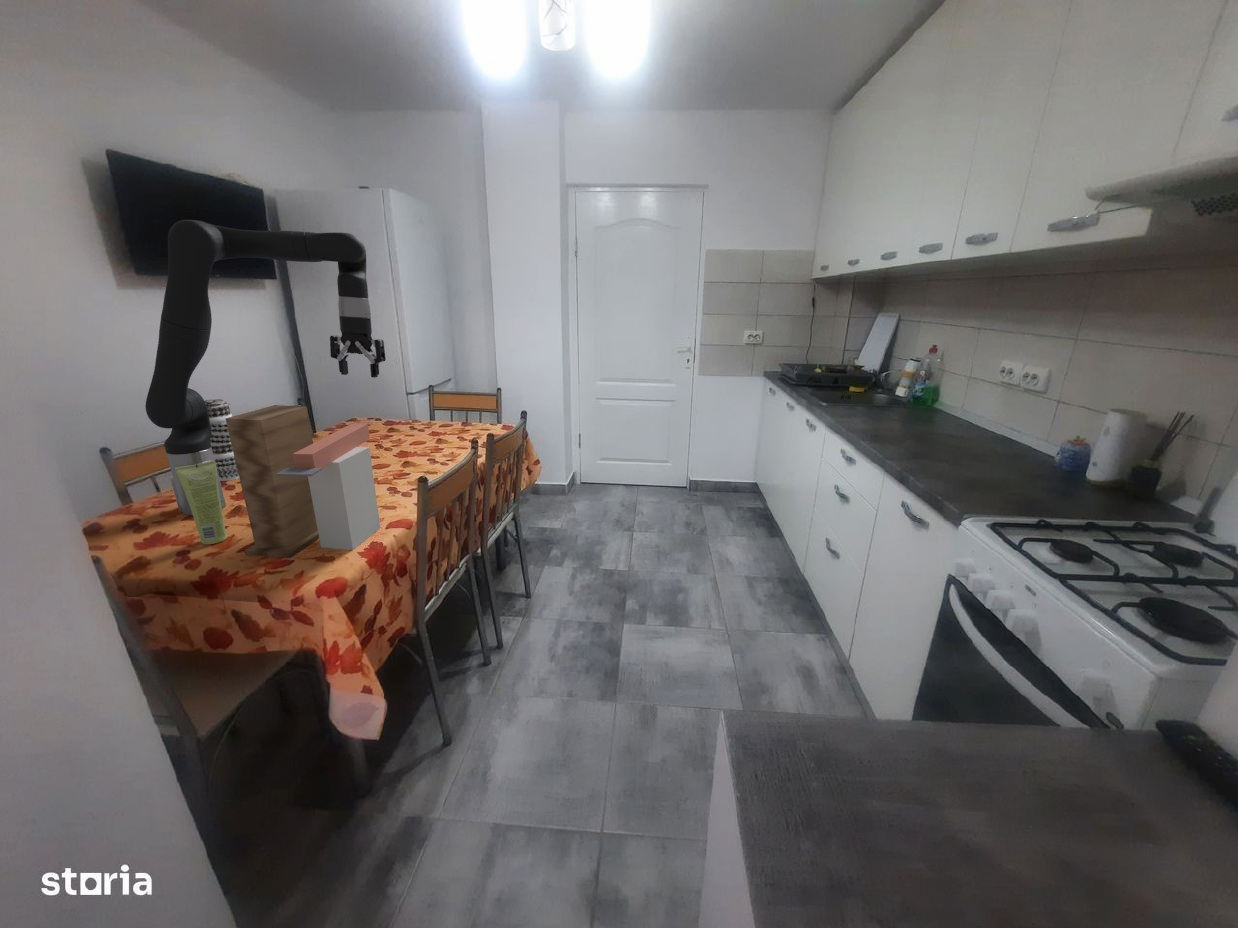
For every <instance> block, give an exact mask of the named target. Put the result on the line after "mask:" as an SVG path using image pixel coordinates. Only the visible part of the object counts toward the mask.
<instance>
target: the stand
mask: <svg viewBox="0 0 1238 928" xmlns="http://www.w3.org/2000/svg"><path fill="white" fill-rule="evenodd" d="M232 416H233V415H232ZM225 419H226V423H227V427H228V432H229V436H230V440H231V444H232V449H233V453H234V457H235V461H236V466H237V470H238V474H239V483H240V486H241V491H242V494H243V498H244V504H245V509H246V512H247V515H248V520H249V525H250V530H251V533H252V537H253V541H254V542H253V543H254V544H253V545H250V546H249V547H247V548H246V549H244V553H245V554H244V555H246V556H254V557H255V556H258V557H269V558H270V557H271V558H284V559H285V558H286V559H292V558H293V557H295V556H296V555H298V554H299V553H300V552H302V551H303V550H304V549H306V548H307V547H309V546H310V545H312V544H313V543H315V542H316V541H318V540H320V539H319V534H318V528H317V523H316V518H315V512H314V507H313V502H312V496H311V491H310V486H309V480H308V476H276V474H277V473H279V472H280V471H282V470H284V469H286V468H288V467H291V468H295V464H294V459H293V453H295V452H297V451H299V450H301V449H303V448H305V447H307V446H309V445H311V444H313V443H314V440H313V435H312V429H311V428H312V427H311V423H310V418H309V412H308V407H307V406H304V405H303V406H299V405H297V406H296V405H282V404H281V405H279V404H278V405H277V404H275V405H270V406H267V407H263V408H259V409H256V410H253V411H252V410H251V411H249V412H243V413H241V414H237V415H234V416H233V417H229V418H225Z"/></svg>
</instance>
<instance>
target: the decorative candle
mask: <svg viewBox="0 0 1238 928" xmlns="http://www.w3.org/2000/svg"><path fill="white" fill-rule="evenodd" d="M204 401H205V403H206V406H207V409H208V414H209V419H210V425H211V430H212V436H211V440H210V442H211V447H212V451H213V455H214V459H215V461H216V467H217V471H218V475H219V479H220V482H228V481H233V480H234V481H235V480H238V479H239V480H240V478H239V474H238V470H237V466H236V461H235V457H234V453H233V449H232V444H231V440H230V436H229V432H228V427H227V423H226V419H225V418H229V417H233V414H232V412H231V409H230V405H231V403H227V401H226V400H224V399H221V398H219V399H206V400H205V399H204Z"/></svg>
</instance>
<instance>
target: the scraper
mask: <svg viewBox="0 0 1238 928" xmlns="http://www.w3.org/2000/svg"><path fill="white" fill-rule="evenodd" d="M370 439H371V438H370V431H369V424H368V423H350V424H348V425H346V426H345V427H342V428H340V429H339V430H337V431H335V432H333V433H331V434H329V435H327V436H325V437H323V438H321V439H319V440H317V441H315V442H313V444H311V445H309V446H307V447H305V448H303V449H301V450H299V451H297V452H295V453H293V459H294V464H295V468H291V467H288V468H286V469H284V470H282V471H280V472H279V473H277V474H276V476H313V475H315V474H316V473H318V472H320V471H321V470H322V468H323V467H325V466H327V465H328V464H330V463H331V462H333V461H335V460H336V459H338V458H339V457H341V456H343V455H344V454H346V453H348V452H349V451H351V450H352V449H354V448H356V447H360V445H362V444H364V443H365V442H367V441H368V440H370Z"/></svg>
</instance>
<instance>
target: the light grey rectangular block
mask: <svg viewBox="0 0 1238 928" xmlns="http://www.w3.org/2000/svg"><path fill="white" fill-rule="evenodd" d="M308 480H309V486H310V491H311V496H312V502H313V507H314V512H315V518H316V523H317V528H318V534H319V539H318V540H319V543H320V548H321V549H333V550H334V549H335V550H347V551H354V550H355V549H356V548H357V547H358V546H360V545H361V544H362V543H364V542H365V541H366V540H367V539H369V538H370V537H371V536H372V535H374V534H375V533H376V532H377V531H378V530H380V529H381V522H380V513H379V506H378V505H379V504H378V500H377V494H376V486H375V478H374V472H373V465H372V456H371V450H370V446H357V447H356V448H354V449H352V450H351V451H349V452H348V453H346V454H344V455H343V456H341V457H339V458H338V459H336V460H335V461H333V462H331V463H330V464H328V465H327V466H325V467H323V468H322V470H321V471H320V472H318V473H316V474H315V475H313V476H308ZM373 533H374V534H373Z"/></svg>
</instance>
